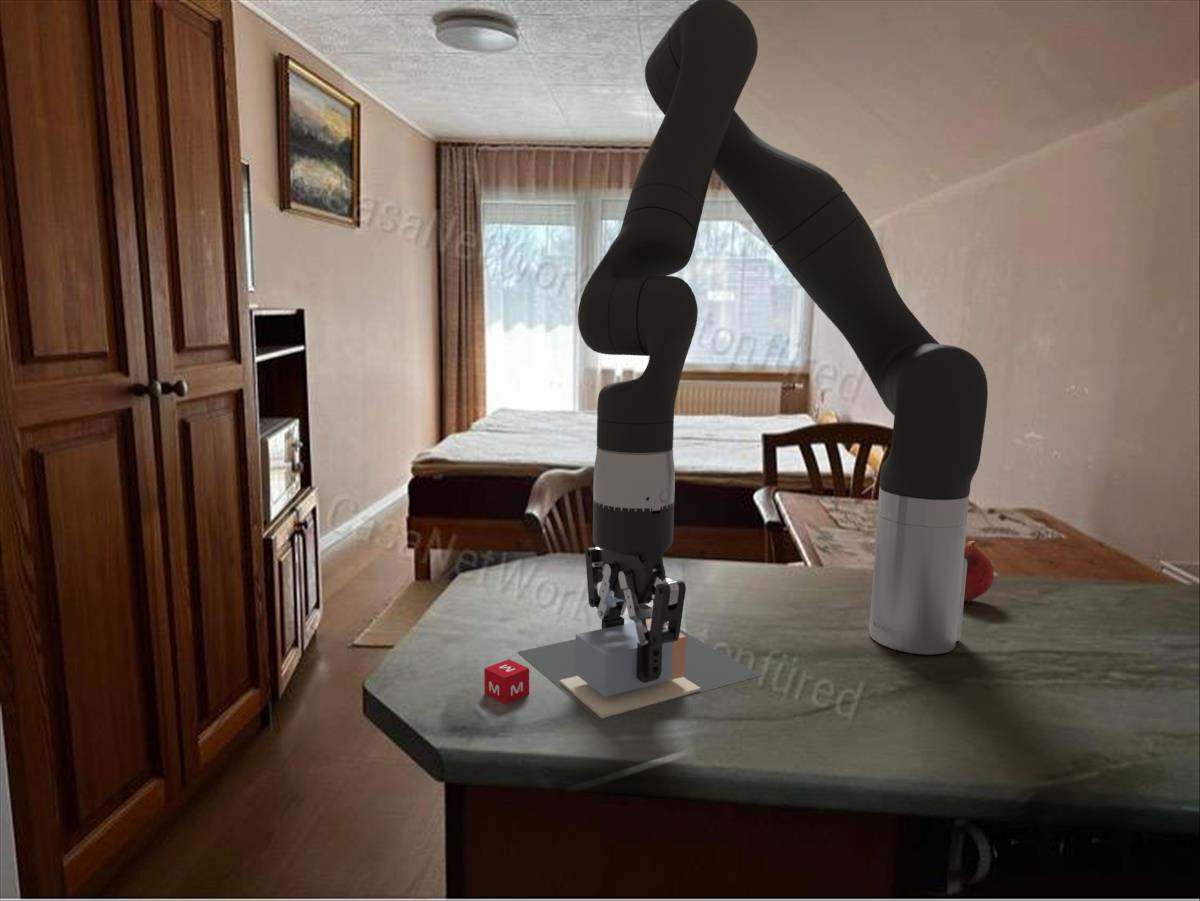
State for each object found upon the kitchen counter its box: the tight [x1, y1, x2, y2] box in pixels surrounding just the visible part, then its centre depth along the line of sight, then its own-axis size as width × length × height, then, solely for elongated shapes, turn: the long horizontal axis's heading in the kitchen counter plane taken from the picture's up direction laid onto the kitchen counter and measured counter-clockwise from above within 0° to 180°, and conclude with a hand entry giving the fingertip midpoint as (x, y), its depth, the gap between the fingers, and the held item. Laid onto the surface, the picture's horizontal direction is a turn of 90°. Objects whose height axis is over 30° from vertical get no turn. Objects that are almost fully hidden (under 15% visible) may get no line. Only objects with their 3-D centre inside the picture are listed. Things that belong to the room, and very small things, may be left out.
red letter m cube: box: [483, 658, 530, 705], centre depth 76 cm, size 3×3×3 cm
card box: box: [575, 618, 686, 697], centre depth 78 cm, size 9×6×4 cm, turn 121°
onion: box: [964, 540, 995, 602], centre depth 104 cm, size 6×6×8 cm
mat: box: [516, 622, 763, 722], centre depth 83 cm, size 19×17×1 cm
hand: (630, 666), depth 78 cm, fingers open, 5 cm apart
